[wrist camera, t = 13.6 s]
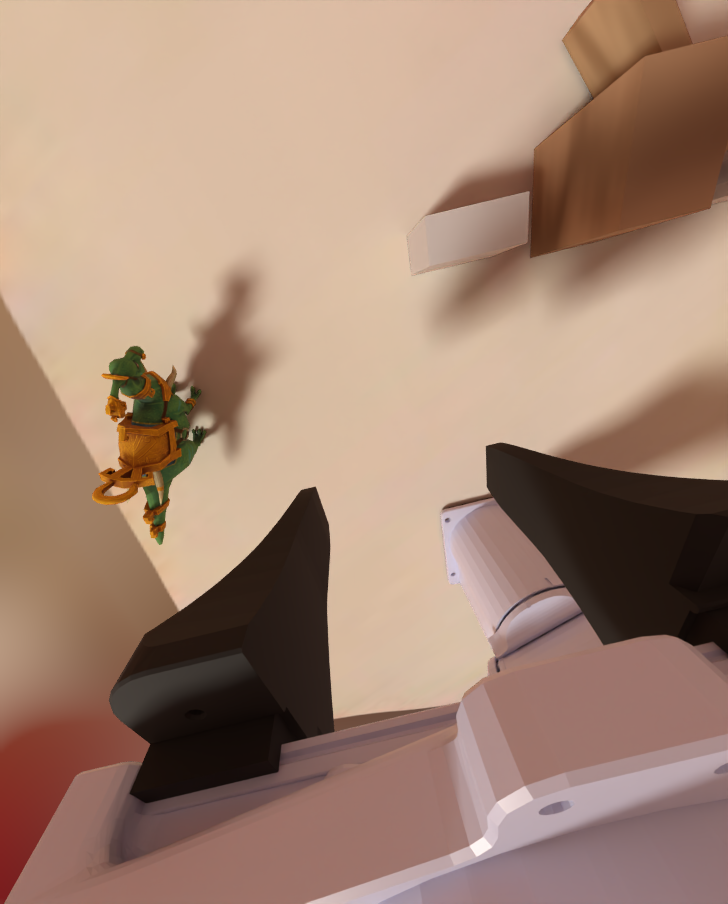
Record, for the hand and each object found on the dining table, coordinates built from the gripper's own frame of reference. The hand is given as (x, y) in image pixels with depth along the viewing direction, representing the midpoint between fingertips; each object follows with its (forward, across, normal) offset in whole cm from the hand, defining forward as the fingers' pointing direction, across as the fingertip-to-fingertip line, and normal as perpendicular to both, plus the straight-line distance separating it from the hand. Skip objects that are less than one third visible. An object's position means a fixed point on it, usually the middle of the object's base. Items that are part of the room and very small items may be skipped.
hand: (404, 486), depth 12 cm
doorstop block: (+10, -14, -10) cm, 20 cm away
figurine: (+10, +13, -2) cm, 17 cm away
